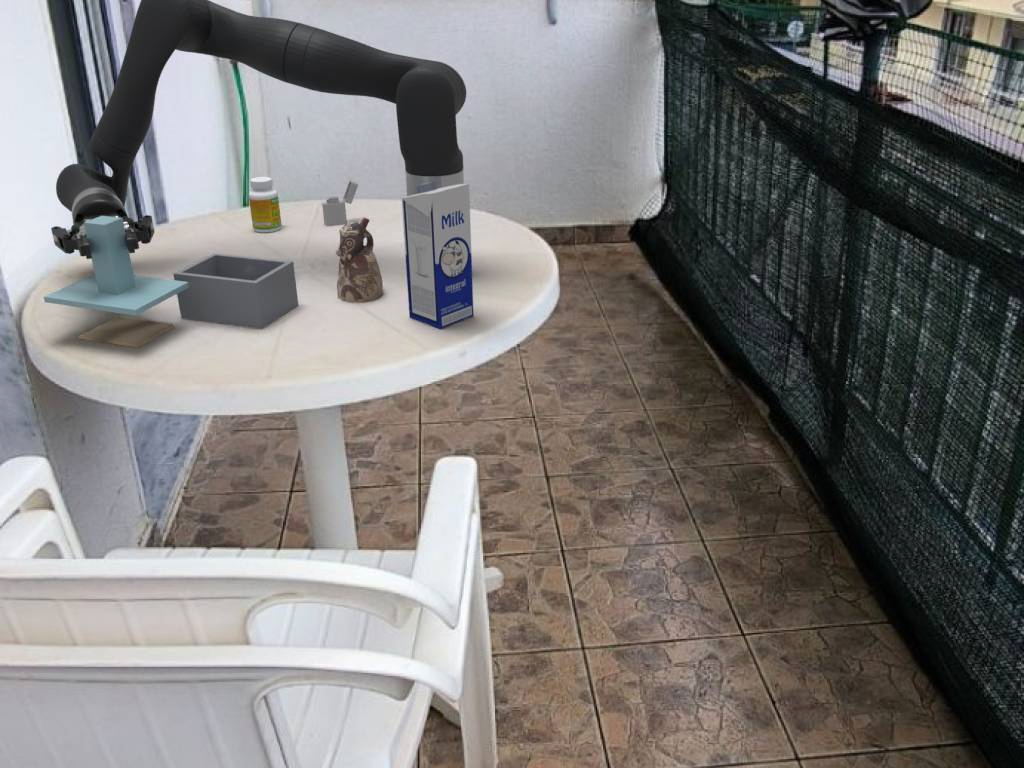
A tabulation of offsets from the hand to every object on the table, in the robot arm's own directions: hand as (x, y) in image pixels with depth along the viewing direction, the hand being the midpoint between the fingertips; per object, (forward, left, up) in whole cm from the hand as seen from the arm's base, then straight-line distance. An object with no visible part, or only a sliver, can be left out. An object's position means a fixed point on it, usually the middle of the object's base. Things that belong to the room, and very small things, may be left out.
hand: (109, 248), depth 128 cm
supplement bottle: (+11, -53, -13) cm, 56 cm away
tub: (-9, -14, -13) cm, 21 cm away
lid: (+2, -2, -7) cm, 8 cm away
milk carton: (-39, -21, -13) cm, 46 cm away
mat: (+2, -2, -13) cm, 14 cm away
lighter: (-1, -61, -13) cm, 62 cm away
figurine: (-23, -26, -13) cm, 37 cm away
